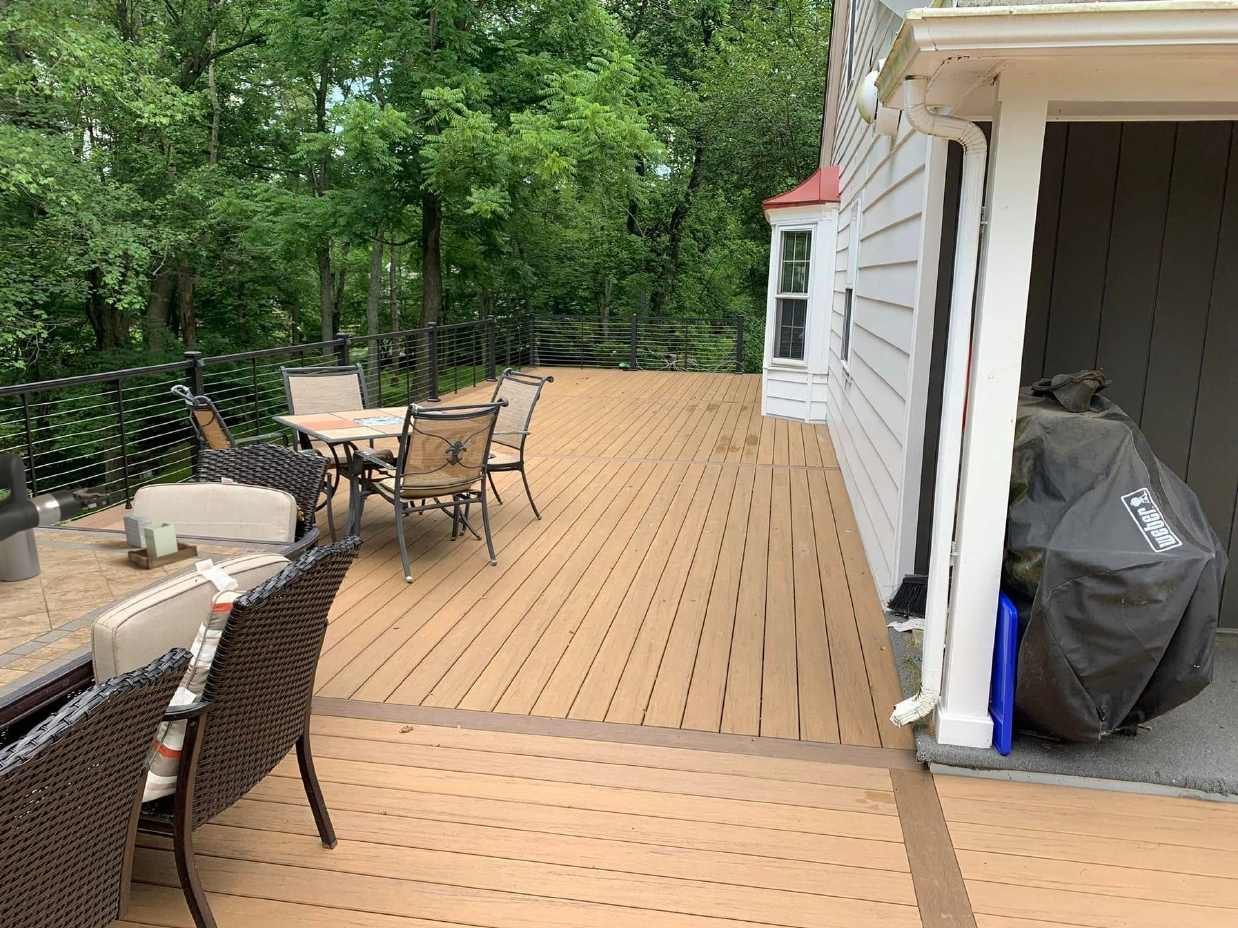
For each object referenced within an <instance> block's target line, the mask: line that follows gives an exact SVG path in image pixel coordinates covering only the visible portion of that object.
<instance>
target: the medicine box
mask: <svg viewBox="0 0 1238 928" xmlns="http://www.w3.org/2000/svg"><path fill="white" fill-rule="evenodd" d="M123 525H124V530H125V539H126V544H127V545H130V546H133V547H138V548H141V549H144V548H146V542H145V536H144V528H143V527H147V526H151V525H154V522H153V518H152V516H150V515H147V514H146V515H145V514H141V513H133V514H128V515H126V516H123Z"/></svg>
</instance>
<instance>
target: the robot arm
mask: <svg viewBox="0 0 1238 928" xmlns="http://www.w3.org/2000/svg"><path fill="white" fill-rule="evenodd" d="M0 490H9V491H10V492H9V495H7V496H5V497H4V498H3V499H0V579H1V581H3V580H5V581H4V582H14V581H15V582H16V581H22V580H26V579H30V578H33V577H36V576H39V574H41V572H42V570H41V565H40V564H41V563H40V560H39V559H40V558H39V554H38V552H39V551H38V548H37V543H36V542H37V541H36V536H35V531H34V529H35V528H38V527H45V526H48V525H52V524H56V523H58V522H63V521H66V520H70V519H73V518H75V516H76V515H77V512H78V511H79V510H87V511H88V512H92V511H96V510H99V509H104V508H108V507H111V506H113V502H117V501H120V500H123V499H124V498H125V494H124V491H123V490H121V489H120V490H115V491H112V492H108V493H106V486H105V485H102V484H100V485H97V486H94V487H84V488H83V487H76V488H73V489H70V490H67V489H62V490H61V489H60V490H56V491H54V492H53V491H52V492H50V493H49V492H48V493H45V494H41V495H36V496H34V497H32V498H29V495H28V485H27V477H26V468H25V464H24V460H23V457H22V456H21V455H20V454H18V453H2V454H1V453H0Z"/></svg>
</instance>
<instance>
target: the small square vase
mask: <svg viewBox="0 0 1238 928" xmlns="http://www.w3.org/2000/svg"><path fill="white" fill-rule="evenodd" d="M143 528H144V536H145V542H146V547H145V548H147V555H148V558H149V557H151V558H156V557H160V556H163V555H167V554H171V553H174V552H178V549H177V541H176V539H177V536H176V535H177V534H176V528H175V524H174V523H171V522H166V521H163V522H160V523H155V524H153V525H151V526H147V527H143Z"/></svg>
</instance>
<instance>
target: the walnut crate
mask: <svg viewBox="0 0 1238 928" xmlns="http://www.w3.org/2000/svg"><path fill="white" fill-rule="evenodd" d="M176 541H177V549H178V552H174V553H171V554H167V555H163V556H160V557H156V558H151V557H149V558H148V555H147V548H146V547H144V548H141V549H137V550H128V551H127V558H128V562H129V563H131V564H134V565H136V566H140V567H142V568H144V569H147V570H153V569H157V568H160V567H164V566H167V565H171V564H175V563H177V562H181V561H184V560H189V559H192V558H194V557H193V556H196V557H198V556H199V555H198V554H199V553H198V548H197V547H198V546H197V545H194V544H193V545H191V544H189V543H186V542H182V541H179V540H178V539H177V538H176ZM191 557H192V558H191ZM188 558H189V559H188Z"/></svg>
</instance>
